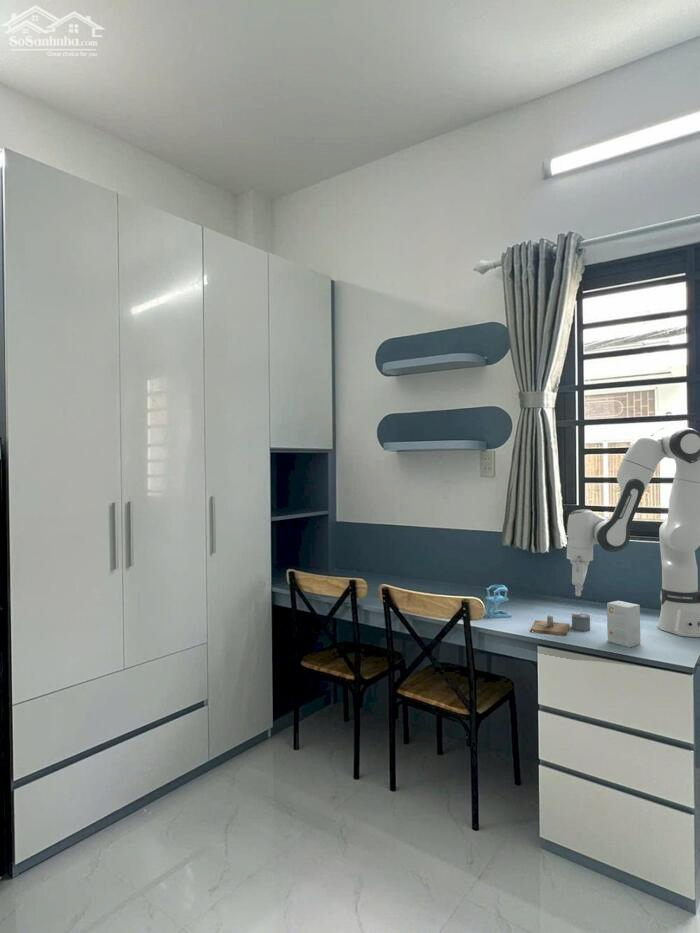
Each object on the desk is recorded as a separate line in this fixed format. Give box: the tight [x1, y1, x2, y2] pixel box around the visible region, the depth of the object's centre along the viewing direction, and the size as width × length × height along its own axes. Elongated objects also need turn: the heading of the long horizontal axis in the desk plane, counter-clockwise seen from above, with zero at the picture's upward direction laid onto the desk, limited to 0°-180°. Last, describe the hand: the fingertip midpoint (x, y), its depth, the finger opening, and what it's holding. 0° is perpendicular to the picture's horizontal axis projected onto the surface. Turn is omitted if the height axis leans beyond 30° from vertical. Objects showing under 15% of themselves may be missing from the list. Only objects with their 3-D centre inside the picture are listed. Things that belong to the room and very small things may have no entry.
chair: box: [485, 584, 513, 619], centre depth 230 cm, size 8×8×12 cm
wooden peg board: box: [530, 615, 571, 637], centre depth 211 cm, size 12×12×4 cm
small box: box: [606, 600, 641, 648], centre depth 195 cm, size 8×6×13 cm
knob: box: [571, 612, 591, 632], centre depth 212 cm, size 6×6×5 cm
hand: (579, 592), depth 212 cm, fingers open, 8 cm apart
